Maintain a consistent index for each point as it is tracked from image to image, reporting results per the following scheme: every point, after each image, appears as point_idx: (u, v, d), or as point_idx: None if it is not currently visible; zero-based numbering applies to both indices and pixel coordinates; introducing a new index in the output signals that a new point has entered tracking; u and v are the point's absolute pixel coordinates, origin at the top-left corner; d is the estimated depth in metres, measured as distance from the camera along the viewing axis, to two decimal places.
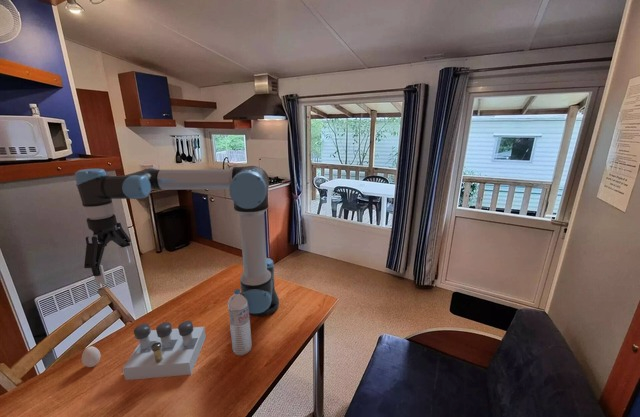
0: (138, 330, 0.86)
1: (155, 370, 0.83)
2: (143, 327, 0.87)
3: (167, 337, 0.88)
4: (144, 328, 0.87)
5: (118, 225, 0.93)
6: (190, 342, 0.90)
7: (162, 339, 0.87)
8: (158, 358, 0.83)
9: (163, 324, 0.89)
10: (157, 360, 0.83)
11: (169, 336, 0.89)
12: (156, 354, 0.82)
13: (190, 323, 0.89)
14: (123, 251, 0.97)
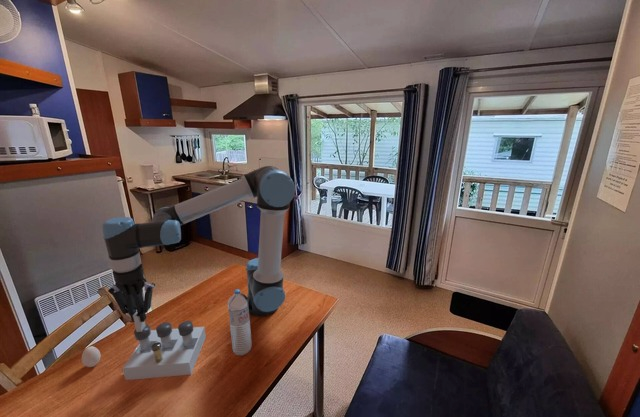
0: None
1: (155, 370, 0.83)
2: None
3: (167, 337, 0.88)
4: (144, 329, 0.87)
5: (147, 288, 0.82)
6: (190, 342, 0.90)
7: (162, 339, 0.87)
8: (158, 358, 0.83)
9: (163, 324, 0.89)
10: (157, 360, 0.83)
11: (169, 336, 0.89)
12: (156, 354, 0.82)
13: (190, 323, 0.89)
14: None
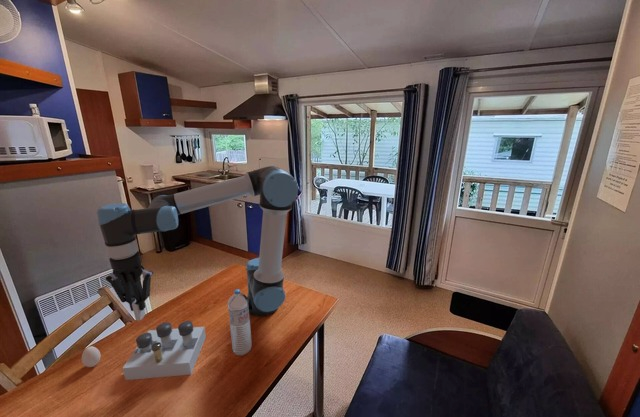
0: (140, 339, 0.87)
1: (155, 370, 0.83)
2: (145, 336, 0.89)
3: (167, 337, 0.88)
4: (146, 337, 0.88)
5: (145, 275, 0.81)
6: (190, 342, 0.90)
7: (162, 339, 0.87)
8: (158, 358, 0.83)
9: (163, 324, 0.89)
10: (157, 360, 0.83)
11: (169, 336, 0.89)
12: (156, 354, 0.82)
13: (190, 323, 0.89)
14: None
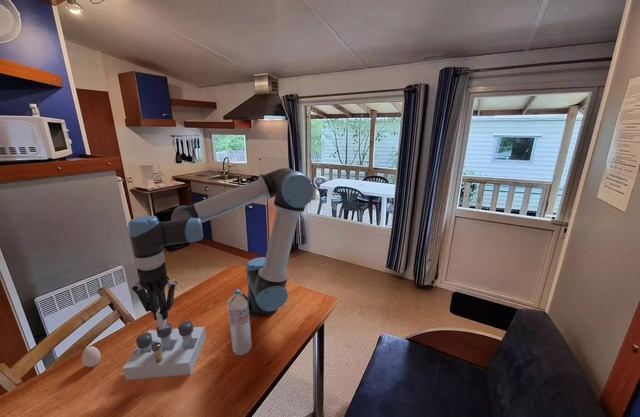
0: (140, 339, 0.87)
1: (155, 370, 0.83)
2: (145, 336, 0.89)
3: (167, 337, 0.88)
4: (146, 337, 0.88)
5: (171, 286, 0.82)
6: (190, 342, 0.90)
7: (162, 339, 0.87)
8: (158, 358, 0.83)
9: None
10: (157, 360, 0.83)
11: (169, 336, 0.89)
12: (156, 354, 0.82)
13: (190, 323, 0.89)
14: None
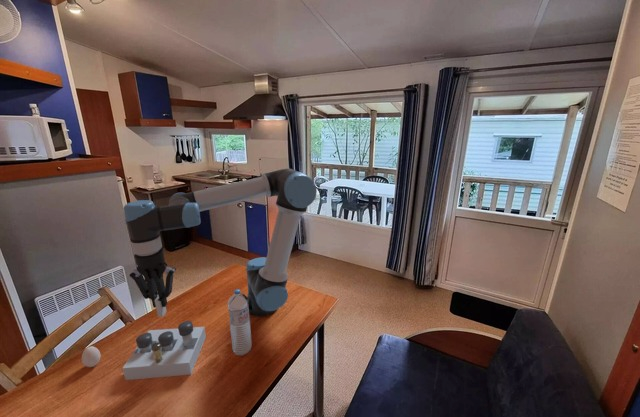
0: (140, 339, 0.87)
1: (155, 370, 0.83)
2: (145, 336, 0.89)
3: (169, 346, 0.89)
4: (146, 337, 0.88)
5: (169, 272, 0.81)
6: (190, 342, 0.90)
7: (164, 348, 0.89)
8: (158, 358, 0.83)
9: (165, 333, 0.90)
10: (157, 360, 0.83)
11: (171, 345, 0.90)
12: (156, 354, 0.82)
13: (190, 323, 0.89)
14: None
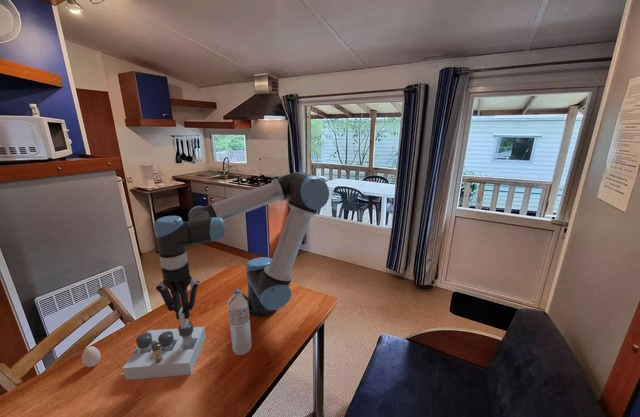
0: (140, 339, 0.87)
1: (155, 370, 0.83)
2: (145, 336, 0.89)
3: (169, 346, 0.89)
4: (146, 337, 0.88)
5: (194, 285, 0.83)
6: (190, 343, 0.90)
7: (164, 348, 0.89)
8: (158, 358, 0.83)
9: (165, 333, 0.90)
10: (157, 360, 0.83)
11: (171, 345, 0.90)
12: (156, 354, 0.82)
13: (190, 324, 0.90)
14: None
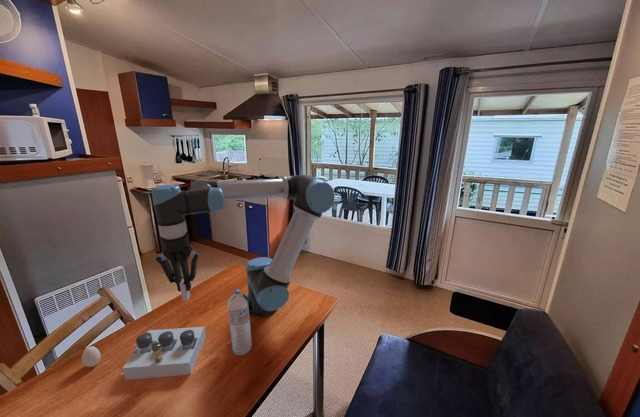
0: (140, 339, 0.87)
1: (155, 370, 0.83)
2: (145, 336, 0.89)
3: (169, 346, 0.89)
4: (146, 337, 0.88)
5: (194, 256, 0.83)
6: None
7: (164, 348, 0.89)
8: (158, 358, 0.83)
9: (165, 333, 0.90)
10: (157, 360, 0.83)
11: (171, 345, 0.90)
12: (156, 354, 0.82)
13: (191, 332, 0.91)
14: None
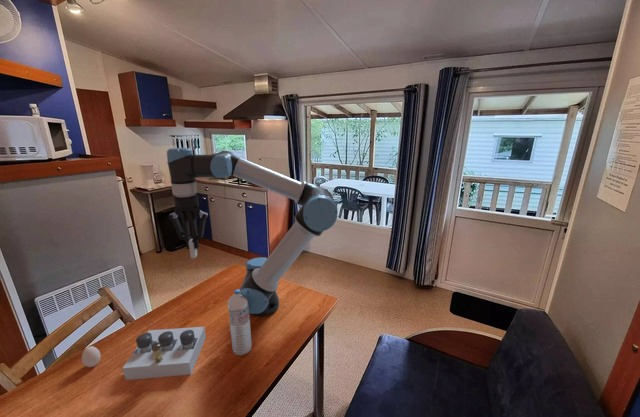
0: (140, 339, 0.87)
1: (155, 370, 0.83)
2: (145, 336, 0.89)
3: (169, 346, 0.89)
4: (146, 337, 0.88)
5: (203, 215, 0.90)
6: None
7: (164, 348, 0.89)
8: (158, 358, 0.83)
9: (165, 333, 0.90)
10: (157, 360, 0.83)
11: (171, 345, 0.90)
12: (156, 354, 0.82)
13: (191, 332, 0.91)
14: None
